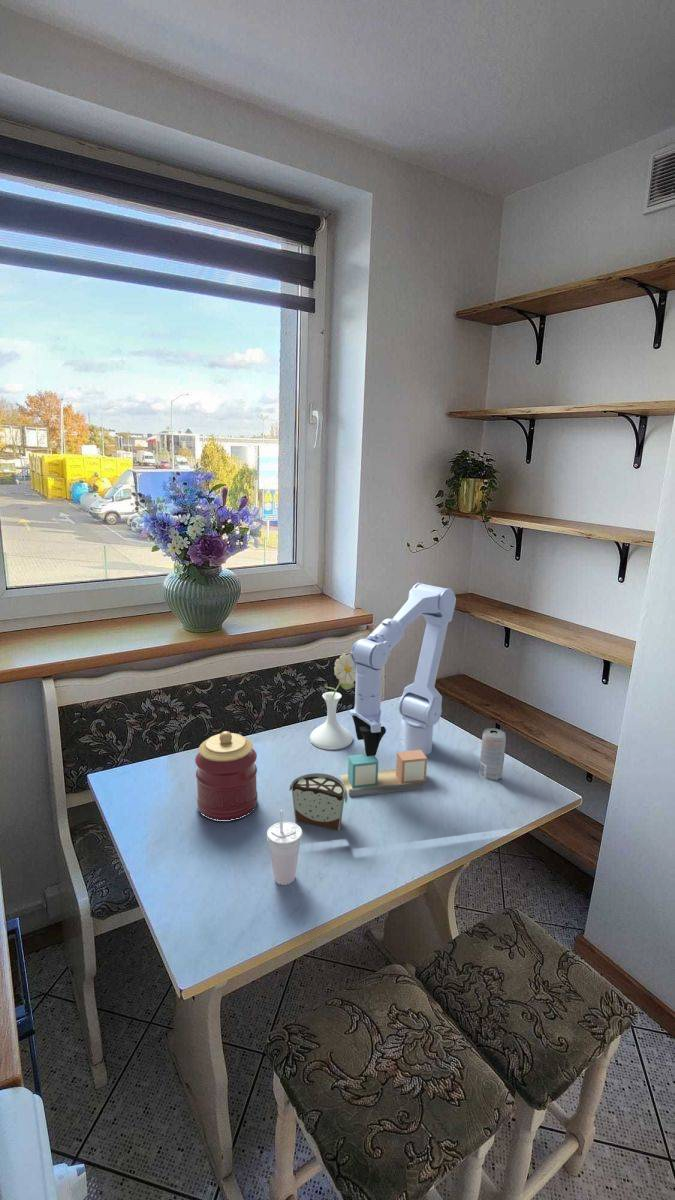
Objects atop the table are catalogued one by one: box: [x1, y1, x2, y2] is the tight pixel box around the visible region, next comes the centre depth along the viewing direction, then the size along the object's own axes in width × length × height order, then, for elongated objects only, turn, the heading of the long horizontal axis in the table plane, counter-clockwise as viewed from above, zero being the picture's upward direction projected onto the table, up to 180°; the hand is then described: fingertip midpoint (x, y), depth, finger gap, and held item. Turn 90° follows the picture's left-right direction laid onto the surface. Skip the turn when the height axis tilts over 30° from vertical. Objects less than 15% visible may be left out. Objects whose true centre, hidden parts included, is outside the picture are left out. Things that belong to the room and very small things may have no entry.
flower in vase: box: [309, 653, 356, 751], centre depth 157 cm, size 13×11×25 cm
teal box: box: [347, 753, 379, 788], centre depth 139 cm, size 4×6×6 cm
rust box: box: [395, 750, 428, 784], centre depth 141 cm, size 4×6×6 cm
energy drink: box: [478, 727, 507, 783], centre depth 143 cm, size 5×5×12 cm
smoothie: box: [266, 809, 303, 886], centre depth 109 cm, size 6×6×14 cm
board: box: [340, 768, 423, 797], centre depth 141 cm, size 9×17×3 cm, turn 103°
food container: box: [289, 772, 349, 832], centre depth 126 cm, size 12×6×10 cm, turn 71°
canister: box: [194, 730, 258, 820], centre depth 130 cm, size 13×13×18 cm
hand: (366, 746), depth 139 cm, fingers open, 7 cm apart
